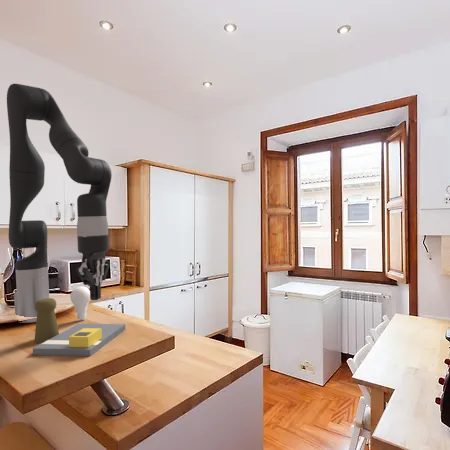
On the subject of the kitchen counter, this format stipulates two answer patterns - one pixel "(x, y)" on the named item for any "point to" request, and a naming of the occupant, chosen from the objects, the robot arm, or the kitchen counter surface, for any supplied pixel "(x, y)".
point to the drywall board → (61, 347)
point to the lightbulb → (80, 301)
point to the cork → (45, 320)
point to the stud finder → (85, 337)
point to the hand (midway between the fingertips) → (95, 299)
